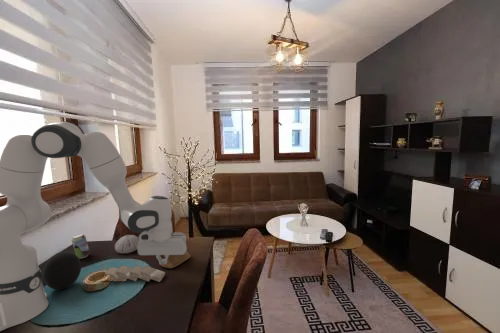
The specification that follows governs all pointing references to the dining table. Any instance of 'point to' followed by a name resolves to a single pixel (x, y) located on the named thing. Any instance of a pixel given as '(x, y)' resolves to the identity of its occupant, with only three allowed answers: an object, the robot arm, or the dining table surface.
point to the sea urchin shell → (127, 244)
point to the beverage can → (80, 246)
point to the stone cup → (176, 259)
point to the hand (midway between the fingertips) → (163, 263)
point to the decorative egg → (62, 270)
